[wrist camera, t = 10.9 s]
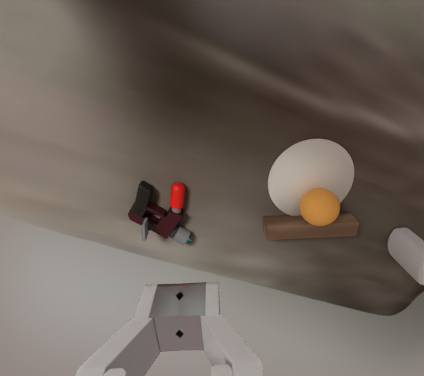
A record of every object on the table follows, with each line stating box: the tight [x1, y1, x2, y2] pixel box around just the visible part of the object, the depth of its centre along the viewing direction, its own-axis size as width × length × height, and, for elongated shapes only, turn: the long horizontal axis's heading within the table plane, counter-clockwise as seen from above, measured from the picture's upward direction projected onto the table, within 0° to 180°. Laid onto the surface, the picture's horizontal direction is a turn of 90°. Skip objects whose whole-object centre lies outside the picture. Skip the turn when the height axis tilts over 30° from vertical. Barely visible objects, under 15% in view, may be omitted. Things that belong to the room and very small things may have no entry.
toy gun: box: [128, 181, 192, 245], centre depth 40 cm, size 10×12×5 cm
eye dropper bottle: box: [388, 227, 424, 285], centre depth 40 cm, size 4×6×12 cm
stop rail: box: [263, 212, 360, 240], centre depth 42 cm, size 2×14×3 cm, turn 93°
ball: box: [299, 188, 340, 226], centre depth 39 cm, size 6×6×6 cm
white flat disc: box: [268, 139, 354, 216], centre depth 40 cm, size 13×13×1 cm
